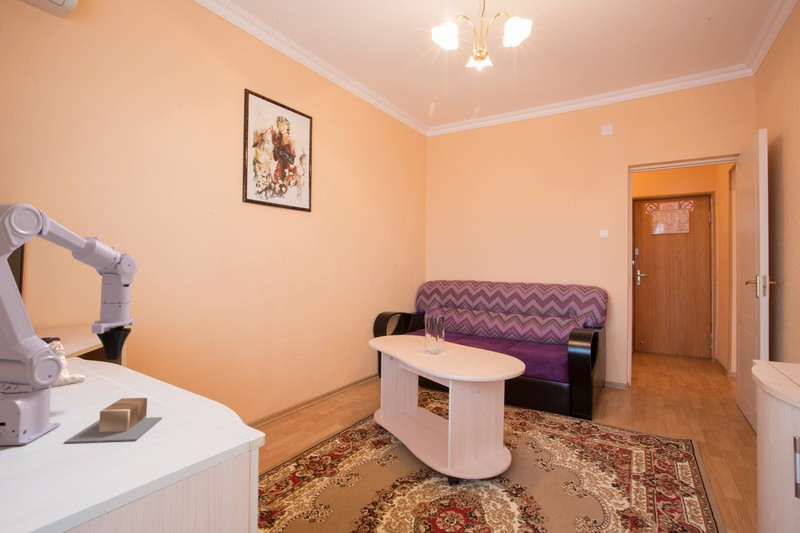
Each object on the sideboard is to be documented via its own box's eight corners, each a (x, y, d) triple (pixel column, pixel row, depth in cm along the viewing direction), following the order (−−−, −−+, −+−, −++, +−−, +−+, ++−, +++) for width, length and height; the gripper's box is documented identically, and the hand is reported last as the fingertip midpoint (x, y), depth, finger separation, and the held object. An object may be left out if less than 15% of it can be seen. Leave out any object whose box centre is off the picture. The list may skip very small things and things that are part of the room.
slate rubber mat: (136, 440, 74) (136, 439, 74) (64, 443, 72) (64, 441, 72) (162, 418, 85) (162, 417, 85) (100, 420, 83) (100, 418, 83)
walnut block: (146, 416, 85) (127, 431, 77) (121, 417, 84) (99, 431, 77) (147, 397, 85) (128, 410, 77) (121, 398, 85) (100, 411, 77)
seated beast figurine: (86, 381, 110) (88, 339, 111) (54, 390, 102) (57, 344, 102) (59, 378, 112) (61, 337, 112) (25, 387, 104) (27, 341, 104)
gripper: (113, 300, 101) (111, 353, 101) (77, 304, 87) (74, 366, 86) (143, 300, 102) (141, 352, 102) (112, 305, 88) (110, 366, 88)
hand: (113, 359), depth 94 cm, fingers closed
